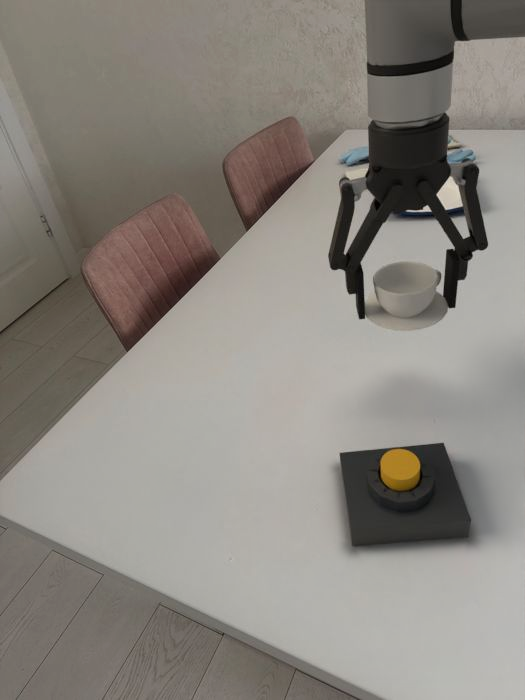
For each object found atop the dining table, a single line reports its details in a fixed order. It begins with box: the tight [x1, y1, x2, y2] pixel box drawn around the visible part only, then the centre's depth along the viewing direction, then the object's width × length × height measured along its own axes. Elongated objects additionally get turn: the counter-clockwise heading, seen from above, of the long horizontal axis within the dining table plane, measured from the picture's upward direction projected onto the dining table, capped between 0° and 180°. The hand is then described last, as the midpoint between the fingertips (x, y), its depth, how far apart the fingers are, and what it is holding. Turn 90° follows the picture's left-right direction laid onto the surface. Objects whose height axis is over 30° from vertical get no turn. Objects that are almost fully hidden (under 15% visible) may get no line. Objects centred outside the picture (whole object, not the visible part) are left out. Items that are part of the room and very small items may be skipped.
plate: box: [390, 177, 479, 216], centre depth 113 cm, size 20×20×3 cm
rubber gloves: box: [339, 134, 477, 180], centre depth 132 cm, size 27×33×6 cm
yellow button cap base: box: [339, 442, 472, 547], centre depth 55 cm, size 12×10×5 cm
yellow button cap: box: [381, 449, 420, 491], centre depth 53 cm, size 4×4×2 cm
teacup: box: [365, 260, 449, 332], centre depth 60 cm, size 10×10×5 cm
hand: (404, 307), depth 61 cm, fingers closed on teacup, 10 cm apart
